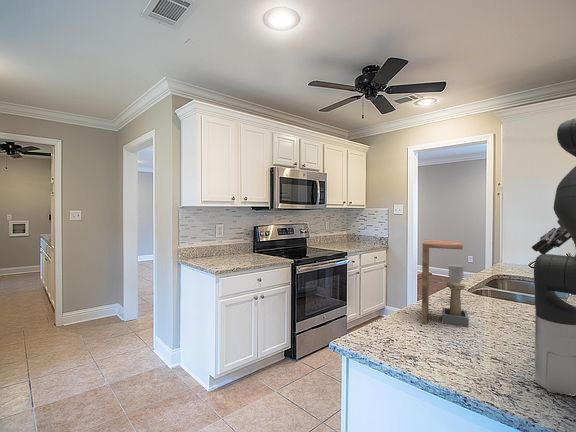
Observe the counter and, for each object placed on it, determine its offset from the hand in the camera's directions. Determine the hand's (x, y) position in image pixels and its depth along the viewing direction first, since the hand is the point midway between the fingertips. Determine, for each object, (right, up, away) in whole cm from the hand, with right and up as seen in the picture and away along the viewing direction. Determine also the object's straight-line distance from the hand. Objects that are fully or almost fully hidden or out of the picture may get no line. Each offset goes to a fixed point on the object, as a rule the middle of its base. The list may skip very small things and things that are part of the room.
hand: (536, 251), depth 110 cm
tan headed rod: (-22, -30, +14) cm, 39 cm away
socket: (-22, -30, +14) cm, 39 cm away
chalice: (-9, -29, +37) cm, 48 cm away
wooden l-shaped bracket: (-26, -30, +16) cm, 43 cm away
